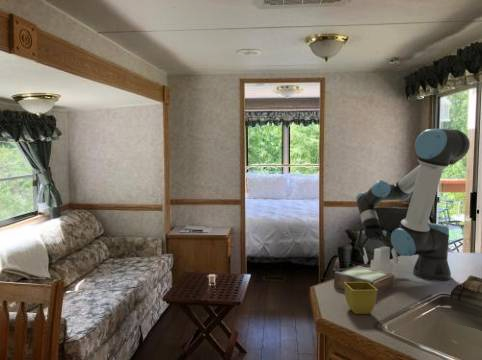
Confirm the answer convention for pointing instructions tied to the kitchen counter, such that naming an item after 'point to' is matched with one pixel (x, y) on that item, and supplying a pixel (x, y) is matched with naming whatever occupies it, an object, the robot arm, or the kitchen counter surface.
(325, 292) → the kitchen counter surface
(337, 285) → the dock
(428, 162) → the robot arm
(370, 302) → the flower pot
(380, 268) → the cylinder with rectangular tab
